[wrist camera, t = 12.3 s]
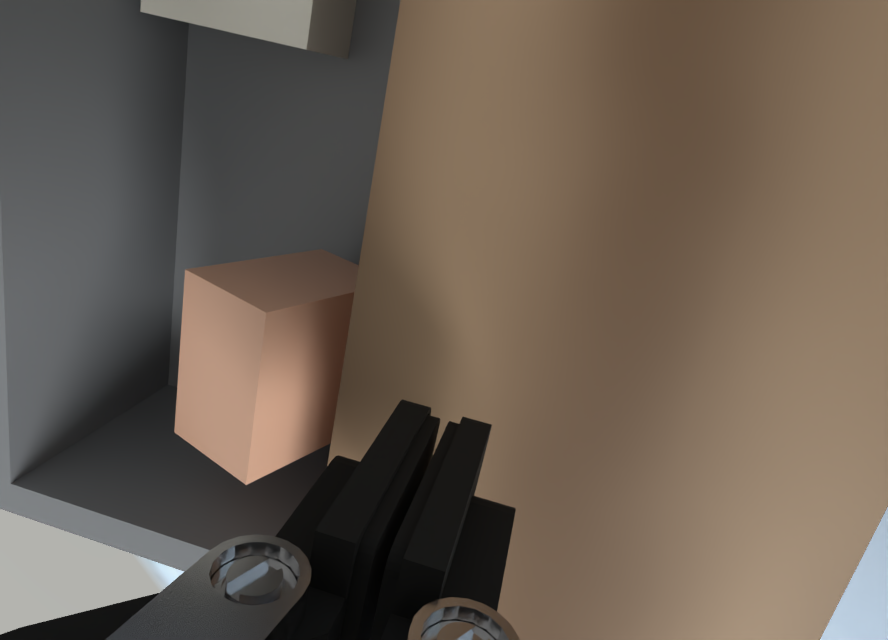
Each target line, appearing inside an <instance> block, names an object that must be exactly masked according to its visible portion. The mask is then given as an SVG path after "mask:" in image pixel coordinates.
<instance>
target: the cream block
mask: <svg viewBox="0 0 888 640" xmlns="http://www.w3.org/2000/svg"><path fill="white" fill-rule="evenodd" d="M356 1H357V0H141V7H140V12H144V13H148V14H152V15H157V16H161V17H165V18H170V19H174V20H178V21H183V22H187V23H191V24H196V25H200V26H204V27H209V28H213V29H217V30H222V31H226V32H231V33H235V34H239V35H244V36H248V37H252V38H257V39H261V40H265V41H270V42H274V43H279V44H283V45H287V46H292V47H296V48H300V49H305V50H309V51H314V52H318V53H322V54H327V55H331V56H335V57H340V58H344V59H348V54H349V47H350V41H351V34H352V27H353V21H354V14H355V8H356Z"/></svg>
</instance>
